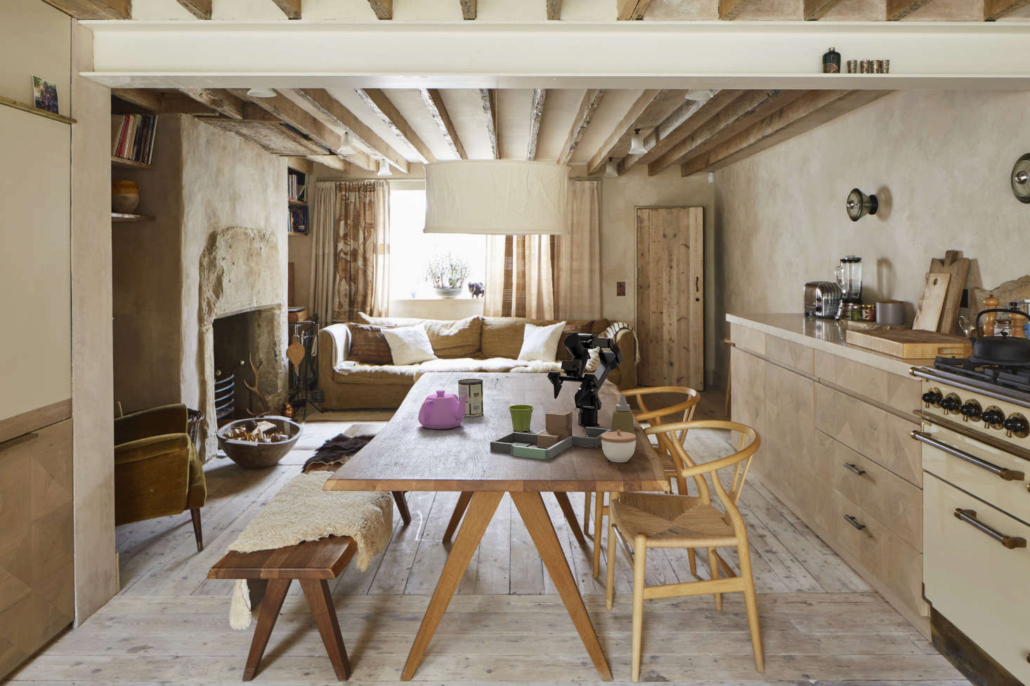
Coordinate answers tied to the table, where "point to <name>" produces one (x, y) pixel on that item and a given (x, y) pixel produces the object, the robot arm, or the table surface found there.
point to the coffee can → (472, 395)
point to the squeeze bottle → (622, 417)
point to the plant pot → (521, 417)
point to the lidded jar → (618, 445)
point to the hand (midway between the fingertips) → (566, 399)
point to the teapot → (442, 411)
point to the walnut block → (555, 428)
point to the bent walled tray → (520, 441)
